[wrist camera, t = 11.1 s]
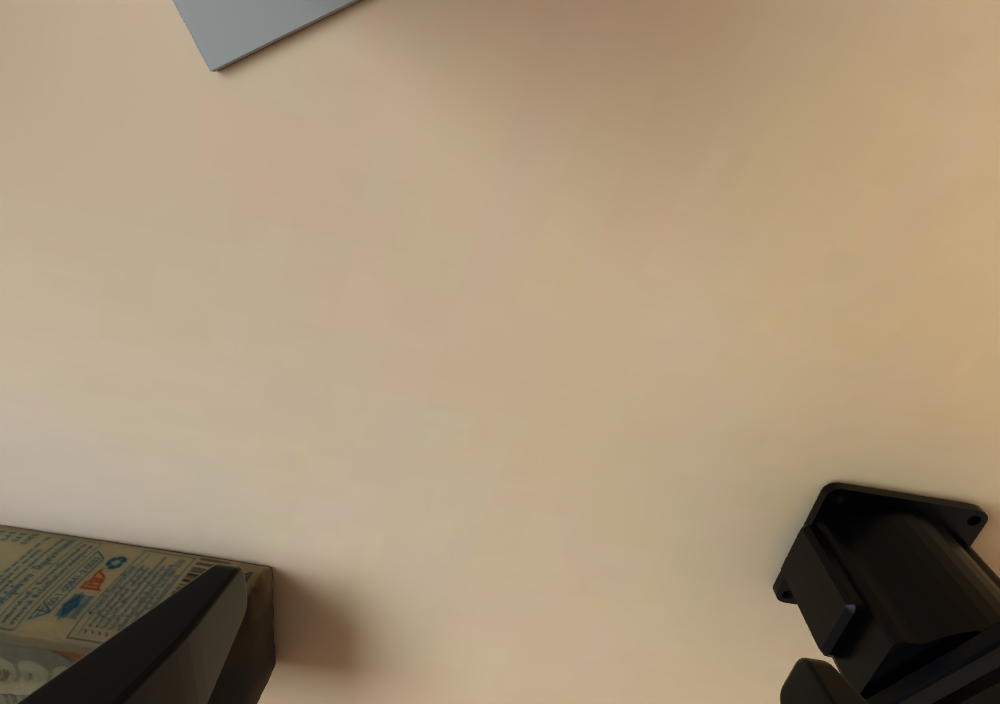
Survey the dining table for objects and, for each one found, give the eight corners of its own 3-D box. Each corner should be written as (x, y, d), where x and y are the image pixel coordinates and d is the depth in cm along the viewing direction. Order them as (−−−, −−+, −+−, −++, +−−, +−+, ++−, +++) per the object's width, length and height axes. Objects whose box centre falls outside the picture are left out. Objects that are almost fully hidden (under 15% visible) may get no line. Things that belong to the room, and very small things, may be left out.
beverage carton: (-100, 499, 28) (-277, 612, 22) (280, 555, 27) (207, 684, 21) (-51, 609, 31) (-192, 733, 25) (287, 660, 31) (226, 797, 25)
